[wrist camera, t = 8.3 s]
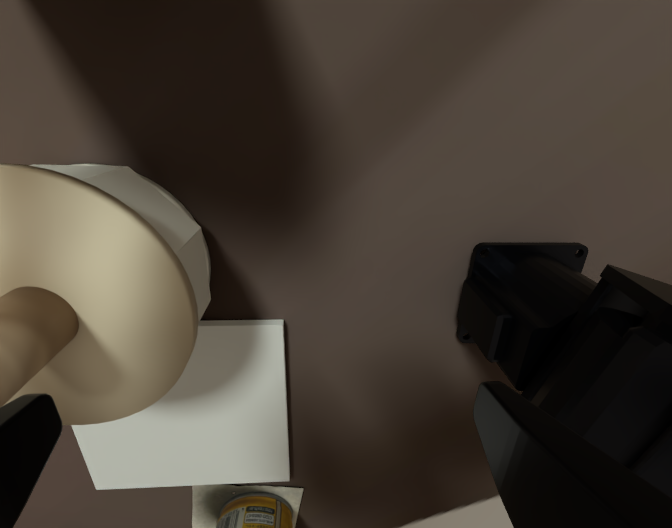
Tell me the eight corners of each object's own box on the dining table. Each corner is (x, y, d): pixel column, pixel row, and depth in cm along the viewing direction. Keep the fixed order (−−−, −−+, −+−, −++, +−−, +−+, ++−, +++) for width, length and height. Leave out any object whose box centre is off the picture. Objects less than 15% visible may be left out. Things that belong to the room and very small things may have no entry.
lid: (174, 165, 12) (109, 191, 8) (213, 407, 17) (183, 498, 13) (-180, 160, 12) (-440, 186, 8) (-39, 415, 16) (-153, 514, 12)
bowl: (198, 164, 17) (156, 184, 13) (220, 335, 21) (195, 396, 17) (-22, 161, 16) (-149, 180, 12) (45, 338, 21) (-31, 403, 16)
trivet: (283, 319, 21) (282, 325, 21) (289, 473, 27) (289, 480, 26) (41, 322, 20) (33, 328, 20) (100, 481, 26) (96, 489, 25)
